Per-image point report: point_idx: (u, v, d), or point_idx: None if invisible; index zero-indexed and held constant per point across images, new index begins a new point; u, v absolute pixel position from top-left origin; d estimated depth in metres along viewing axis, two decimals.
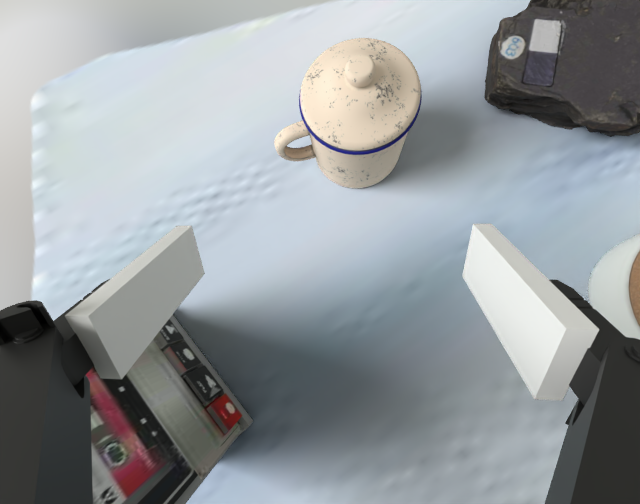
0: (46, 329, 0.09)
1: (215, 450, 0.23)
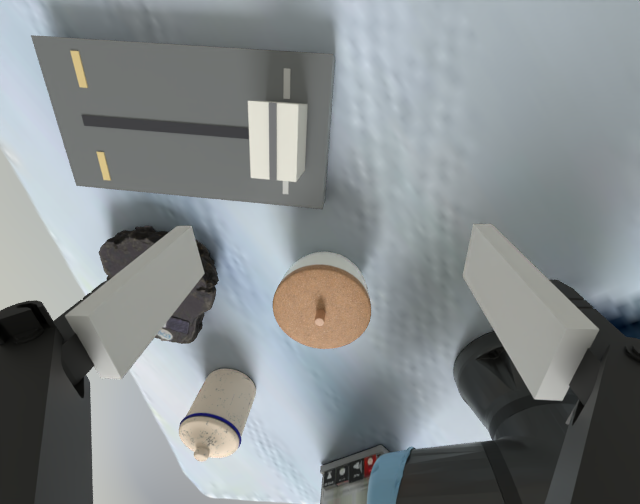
0: (46, 329, 0.09)
1: None
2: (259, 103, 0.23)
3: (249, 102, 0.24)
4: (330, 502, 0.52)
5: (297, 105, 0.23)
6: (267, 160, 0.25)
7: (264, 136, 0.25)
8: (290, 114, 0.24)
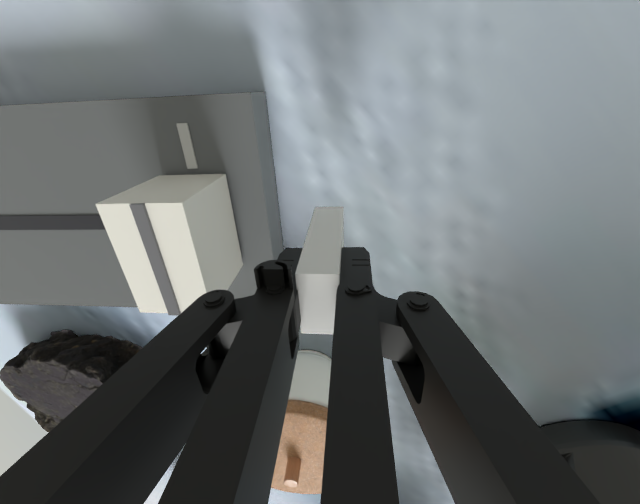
0: (287, 289, 0.10)
1: None
2: (116, 206, 0.13)
3: (99, 206, 0.13)
4: None
5: (181, 204, 0.13)
6: (158, 287, 0.15)
7: (141, 254, 0.14)
8: (173, 219, 0.13)
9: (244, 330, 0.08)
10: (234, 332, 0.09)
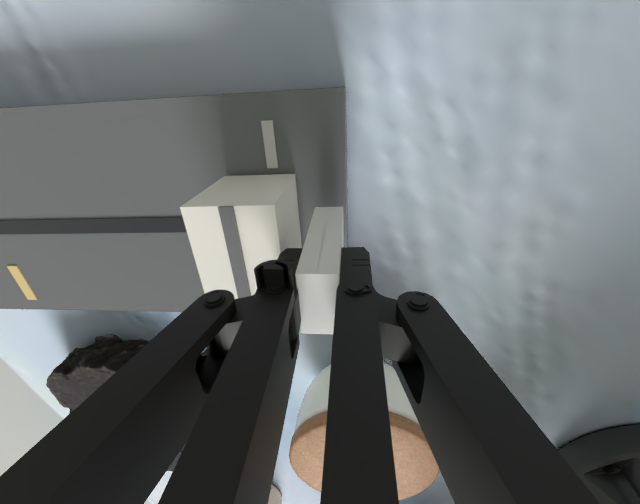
0: (287, 289, 0.10)
1: None
2: (202, 209, 0.12)
3: (183, 209, 0.12)
4: None
5: (273, 206, 0.12)
6: (235, 294, 0.14)
7: (222, 259, 0.14)
8: (262, 223, 0.12)
9: (244, 330, 0.08)
10: (234, 332, 0.09)
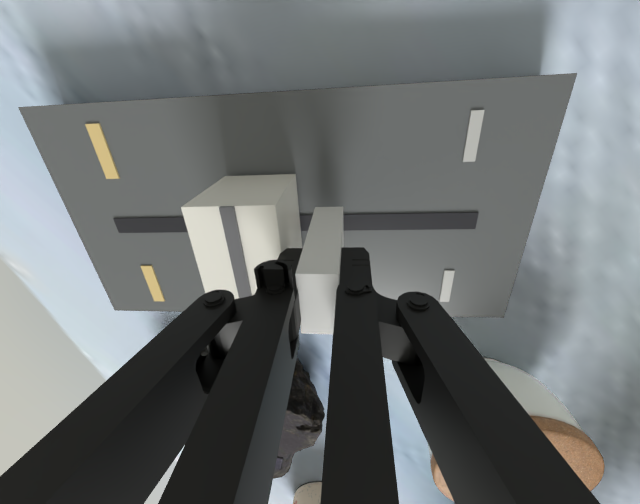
0: (287, 289, 0.10)
1: None
2: (203, 209, 0.12)
3: (184, 209, 0.13)
4: None
5: (273, 206, 0.12)
6: (236, 293, 0.14)
7: (223, 259, 0.14)
8: (263, 223, 0.13)
9: (244, 330, 0.08)
10: (234, 332, 0.09)
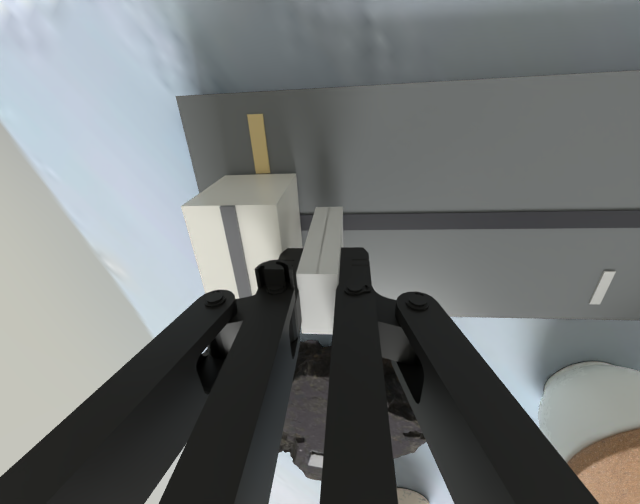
0: (287, 289, 0.10)
1: None
2: (203, 208, 0.12)
3: (184, 208, 0.12)
4: None
5: (274, 206, 0.12)
6: (236, 293, 0.14)
7: (223, 259, 0.13)
8: (263, 222, 0.12)
9: (245, 330, 0.08)
10: (235, 332, 0.09)
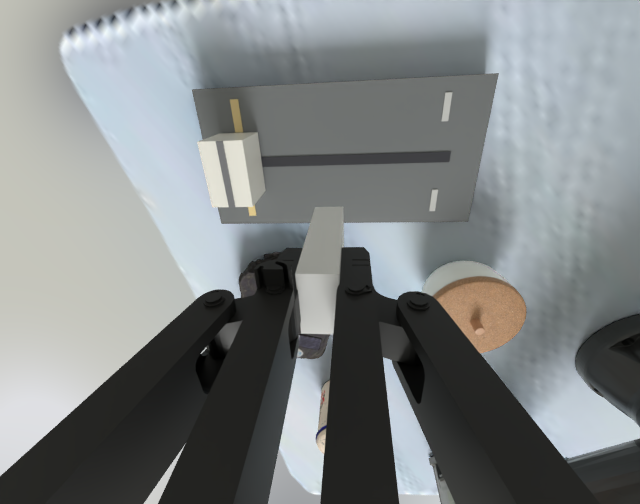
0: (287, 289, 0.10)
1: None
2: (208, 143, 0.26)
3: (199, 143, 0.26)
4: None
5: (241, 141, 0.26)
6: (224, 190, 0.28)
7: (218, 170, 0.27)
8: (236, 149, 0.26)
9: (244, 330, 0.08)
10: (234, 332, 0.09)
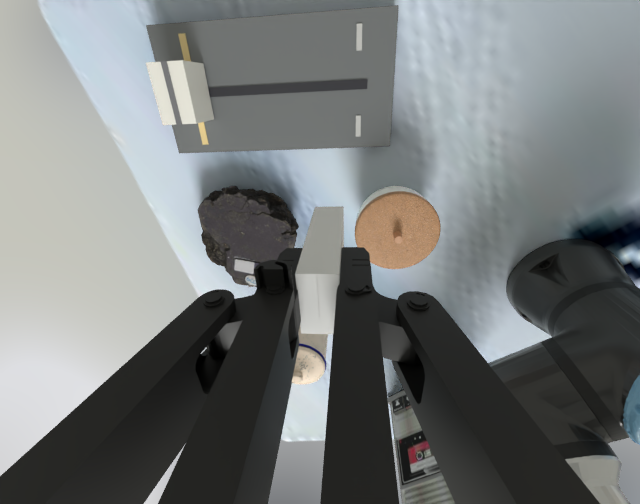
0: (287, 289, 0.10)
1: None
2: (154, 63, 0.31)
3: (147, 63, 0.31)
4: (402, 423, 0.59)
5: (182, 61, 0.31)
6: (171, 108, 0.33)
7: (164, 89, 0.32)
8: (178, 69, 0.31)
9: (244, 330, 0.08)
10: (234, 332, 0.09)
